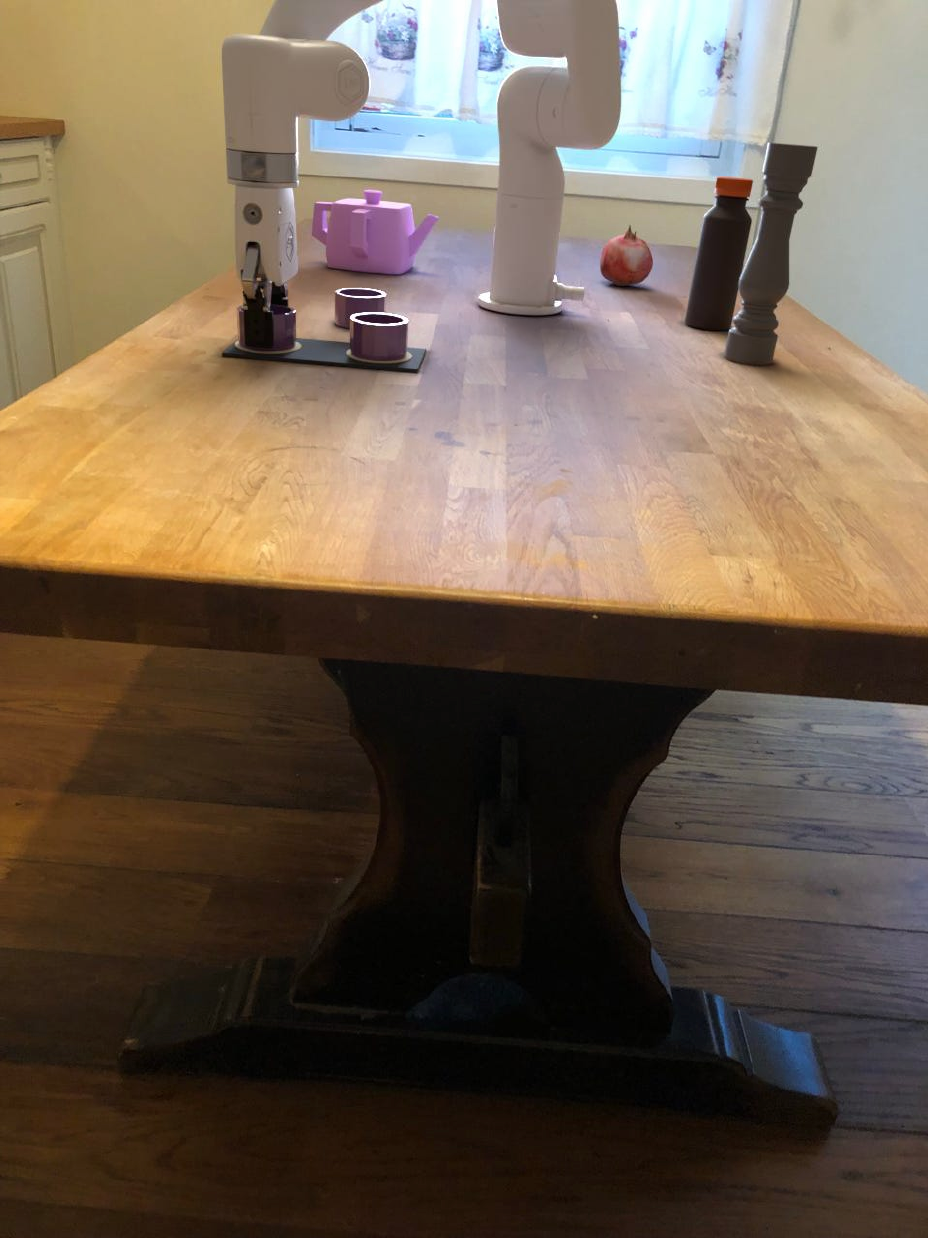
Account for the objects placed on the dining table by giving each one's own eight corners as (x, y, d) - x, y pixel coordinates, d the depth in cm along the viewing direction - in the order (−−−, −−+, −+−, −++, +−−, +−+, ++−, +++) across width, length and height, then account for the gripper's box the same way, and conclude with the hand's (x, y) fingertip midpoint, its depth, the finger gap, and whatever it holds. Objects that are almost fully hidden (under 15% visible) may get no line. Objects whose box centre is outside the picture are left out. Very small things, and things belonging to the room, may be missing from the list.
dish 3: (409, 349, 113) (410, 315, 111) (402, 363, 107) (404, 327, 105) (355, 345, 113) (355, 310, 111) (345, 358, 107) (346, 322, 105)
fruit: (610, 277, 175) (618, 219, 170) (657, 286, 170) (666, 226, 165) (586, 282, 168) (593, 221, 163) (634, 291, 164) (643, 229, 159)
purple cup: (301, 340, 113) (300, 305, 111) (288, 353, 107) (287, 317, 105) (247, 336, 113) (245, 301, 111) (231, 348, 108) (230, 312, 106)
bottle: (675, 323, 141) (701, 175, 131) (699, 319, 145) (725, 175, 136) (716, 333, 137) (745, 180, 127) (739, 327, 141) (769, 180, 132)
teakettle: (305, 260, 168) (304, 183, 162) (386, 257, 178) (388, 185, 172) (354, 277, 157) (356, 195, 151) (438, 273, 166) (443, 196, 160)
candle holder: (774, 367, 120) (823, 147, 108) (724, 361, 121) (767, 143, 109) (770, 356, 126) (816, 145, 114) (722, 351, 127) (763, 141, 115)
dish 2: (387, 320, 129) (388, 290, 127) (381, 331, 123) (381, 299, 121) (340, 317, 129) (340, 286, 127) (331, 327, 123) (331, 295, 121)
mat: (426, 352, 115) (426, 347, 114) (417, 372, 106) (417, 368, 106) (245, 336, 115) (245, 332, 115) (222, 356, 106) (221, 351, 106)
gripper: (278, 178, 94) (282, 360, 102) (313, 168, 109) (314, 327, 118) (203, 172, 94) (213, 354, 103) (249, 162, 109) (254, 322, 118)
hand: (267, 338), depth 110 cm, fingers closed on purple cup, 6 cm apart
